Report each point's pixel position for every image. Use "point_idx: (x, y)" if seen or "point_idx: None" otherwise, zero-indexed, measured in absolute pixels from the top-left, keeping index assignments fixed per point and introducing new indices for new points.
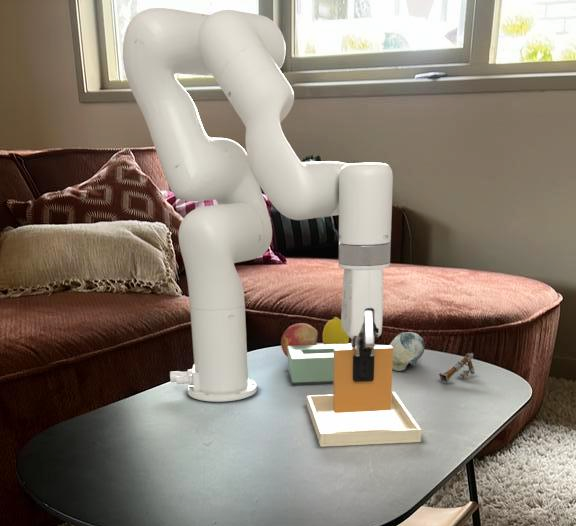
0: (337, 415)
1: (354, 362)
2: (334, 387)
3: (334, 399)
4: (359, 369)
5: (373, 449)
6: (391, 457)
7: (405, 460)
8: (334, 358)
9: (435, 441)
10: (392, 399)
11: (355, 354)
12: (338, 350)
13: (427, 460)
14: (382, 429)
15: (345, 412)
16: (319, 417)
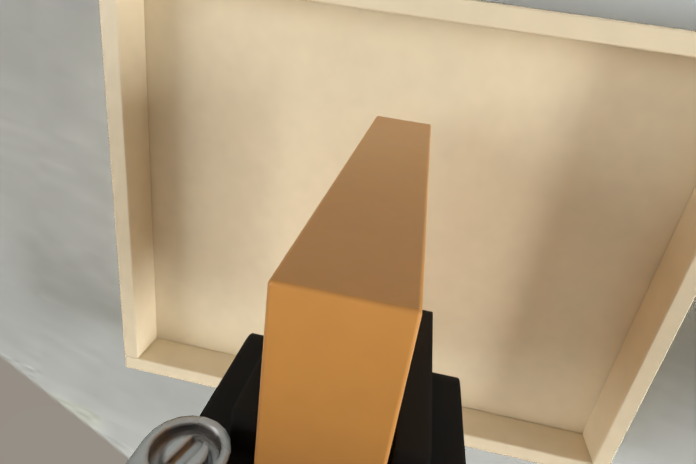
0: (492, 156)
1: (256, 374)
2: (365, 149)
3: (373, 130)
4: (234, 361)
5: (98, 171)
6: (26, 201)
7: (3, 233)
8: (332, 235)
9: (155, 377)
10: (573, 439)
11: (220, 439)
12: (265, 323)
13: (6, 291)
14: (257, 270)
15: (518, 207)
16: (496, 54)
